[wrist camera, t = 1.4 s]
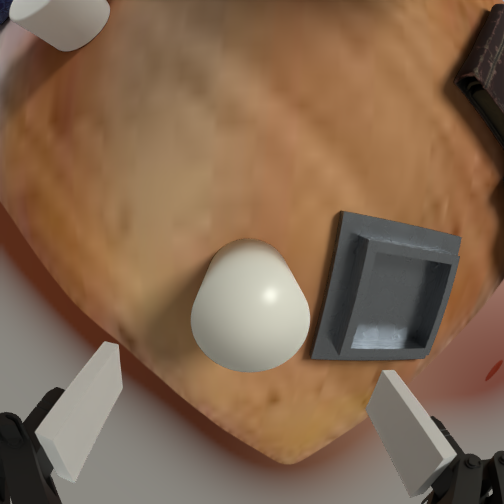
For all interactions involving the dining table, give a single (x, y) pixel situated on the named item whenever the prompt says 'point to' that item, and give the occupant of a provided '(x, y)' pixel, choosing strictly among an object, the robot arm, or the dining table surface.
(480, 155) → the dining table surface
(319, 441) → the dining table surface
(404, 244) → the grey square tray
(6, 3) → the planter
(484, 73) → the diary
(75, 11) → the mug
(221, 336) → the plug
